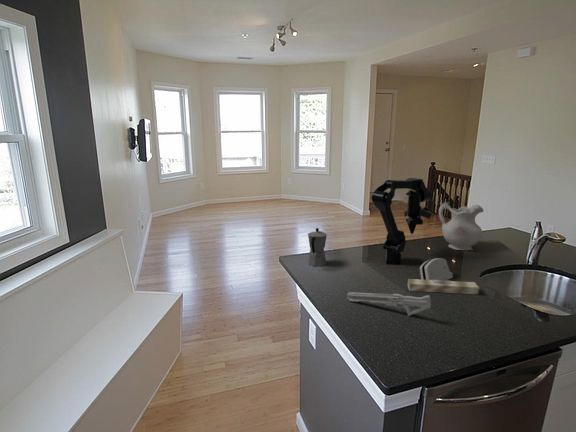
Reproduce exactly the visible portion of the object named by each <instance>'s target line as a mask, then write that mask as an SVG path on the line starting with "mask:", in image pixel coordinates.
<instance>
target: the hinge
mask: <svg viewBox="0 0 576 432" xmlns="http://www.w3.org/2000/svg"><path fill="white" fill-rule="evenodd" d="M419 273H420V279H421V280H448V281H449V280H450V279H452V278H454V275H453V272H451V271H450V268H449V265H448V261H447V260H446V259H445V258H440V257H439V258H438V257H436V258H431V259H428V260H426V261H424V262H423V263H421V265H420V266H419Z"/></svg>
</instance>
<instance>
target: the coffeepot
mask: <svg viewBox="0 0 576 432" xmlns="http://www.w3.org/2000/svg"><path fill="white" fill-rule="evenodd" d="M307 236H308V244H309V248H310V249H309V252H308V253H309V254H308V258H307V260H308V261H307V262H308V265H309V266H311V265H312V266H311V267H315V266H320V267H324V266H325V265H327V260H326V254H325V248H326V243H327V236H328V235H327V233H326V232H324V231H320V228H319V227H315V231H311V232H307ZM323 265H324V266H323Z"/></svg>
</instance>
